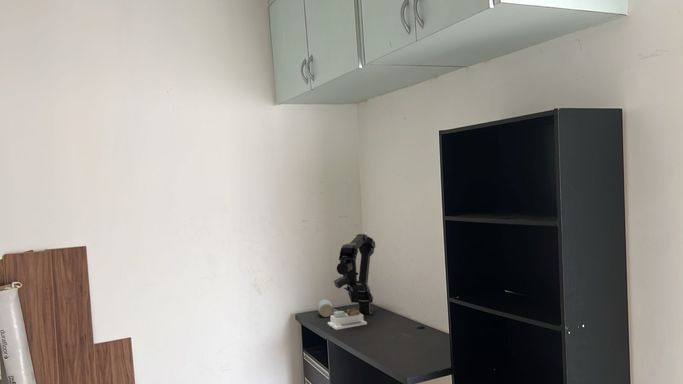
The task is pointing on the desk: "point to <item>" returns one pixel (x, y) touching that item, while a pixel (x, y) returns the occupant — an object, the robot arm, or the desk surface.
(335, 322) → the key panel
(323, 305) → the ceramic mug
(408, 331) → the desk surface
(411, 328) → the desk surface
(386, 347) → the desk surface
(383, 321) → the desk surface
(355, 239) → the robot arm
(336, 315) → the sage key
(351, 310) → the walnut key
